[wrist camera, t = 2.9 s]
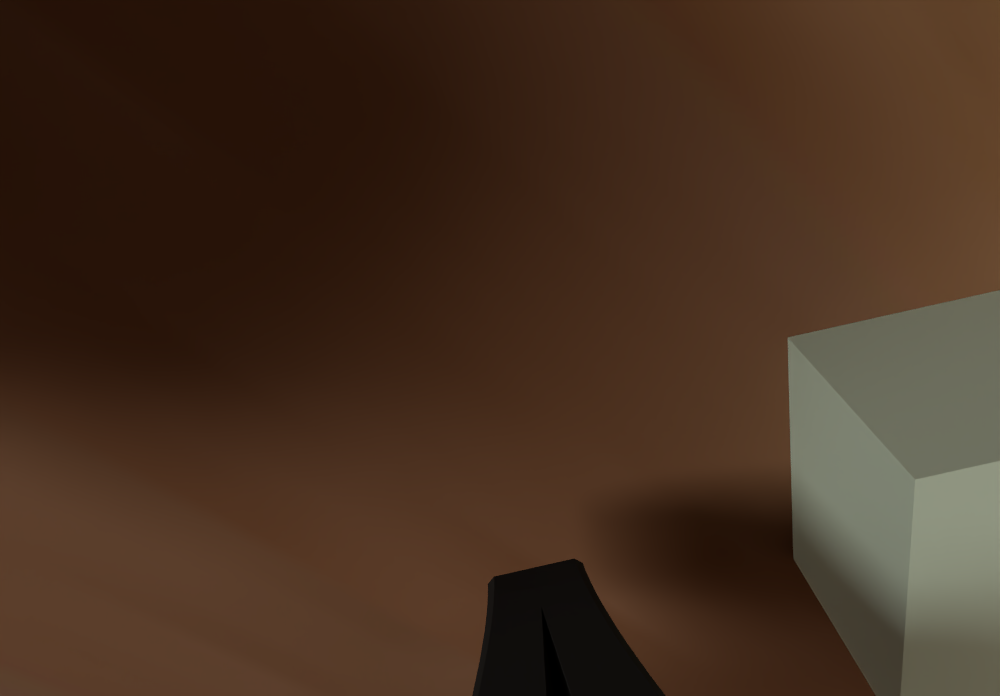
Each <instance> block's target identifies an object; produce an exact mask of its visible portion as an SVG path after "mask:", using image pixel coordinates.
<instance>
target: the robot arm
mask: <svg viewBox="0 0 1000 696" xmlns="http://www.w3.org/2000/svg"><path fill="white" fill-rule="evenodd" d="M472 696H665V694H664V693H663V692H662V690H661V689H660V688H659V687H658V685H657V684H656V683H655V681H654V680H653V679H652V677H651V676H650V675H649V673H648V672H647V671H646V669H645V668H644V666H643V665H642V664H641V662H640V661H639V659H638V658H637V657H636V655H635V654H634V652H633V651H632V650H631V648H630V647H629V645H628V644H627V643H626V641H625V640H624V638H623V637H622V635H621V634H620V632H619V630H618V629H617V627H616V626H615V624H614V623H613V621H612V619H611V618H610V616H609V614H608V613H607V611H606V610H605V608H604V606H603V604H602V603H601V601H600V599H599V597H598V596H597V594H596V592H595V590H594V588H593V586H592V584H591V582H590V580H589V577H588V575H587V573H586V571H585V568H584V565H583V563H582V562H580V561H578V560H576V559H571V560H566V561H562V562H557V563H553V564H548V565H544V566H539V567H535V568H531V569H526V570H522V571H517V572H513V573H508V574H504V575H499V576H495V577H493V579H492V580H491V581H490V582H489V584H488V605H487V617H486V625H485V633H484V639H483V645H482V651H481V658H480V663H479V667H478V672H477V677H476V681H475V686H474V691H473V695H472Z"/></svg>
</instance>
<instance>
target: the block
mask: <svg viewBox="0 0 1000 696" xmlns="http://www.w3.org/2000/svg"><path fill="white" fill-rule="evenodd" d="M788 367H789V407H790V447H791V486H792V526H793V559H794V561H795V562H796V564H797V566H798V567H799V569H800V571H801V572H802V574H803V576H804V577H805V579H806V581H807V582H808V584H809V586H810V587H811V589H812V591H813V592H814V594H815V596H816V597H817V599H818V600H819V602H820V604H821V605H822V607H823V609H824V610H825V612H826V614H827V615H828V617H829V619H830V620H831V622H832V624H833V625H834V627H835V629H836V630H837V632H838V634H839V635H840V637H841V639H842V640H843V642H844V644H845V645H846V647H847V649H848V650H849V652H850V654H851V655H852V657H853V659H854V660H855V662H856V664H857V665H858V667H859V669H860V670H861V672H862V674H863V675H864V677H865V679H866V680H867V682H868V684H869V685H870V687H871V689H872V690H873V692H874V694H875V695H876V696H1000V290H999V291H994V292H990V293H985V294H981V295H976V296H972V297H967V298H963V299H958V300H954V301H949V302H945V303H940V304H936V305H931V306H927V307H922V308H918V309H914V310H909V311H905V312H900V313H896V314H891V315H887V316H882V317H878V318H873V319H869V320H864V321H860V322H855V323H851V324H846V325H842V326H837V327H833V328H828V329H824V330H820V331H815V332H811V333H806V334H802V335H797V336H793V337H788Z"/></svg>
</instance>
